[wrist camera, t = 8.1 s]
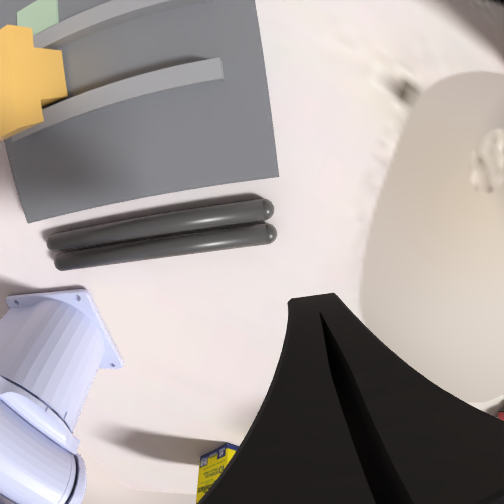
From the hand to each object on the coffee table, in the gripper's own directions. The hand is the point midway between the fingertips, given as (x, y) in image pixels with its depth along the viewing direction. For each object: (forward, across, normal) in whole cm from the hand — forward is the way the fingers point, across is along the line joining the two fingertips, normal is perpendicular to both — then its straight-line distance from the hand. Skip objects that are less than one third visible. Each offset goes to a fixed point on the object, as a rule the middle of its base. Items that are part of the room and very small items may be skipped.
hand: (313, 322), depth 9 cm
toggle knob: (+9, +12, -10) cm, 18 cm away
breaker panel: (+10, +8, -8) cm, 15 cm away
